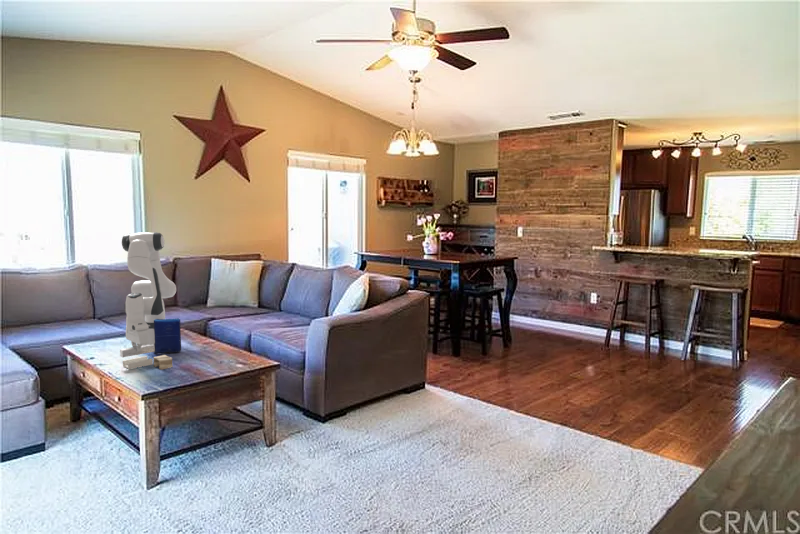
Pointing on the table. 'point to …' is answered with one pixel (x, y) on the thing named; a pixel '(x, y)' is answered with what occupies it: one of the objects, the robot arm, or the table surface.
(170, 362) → the tan wooden block
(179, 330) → the book
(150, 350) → the bar
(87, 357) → the table surface
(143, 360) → the cradle
